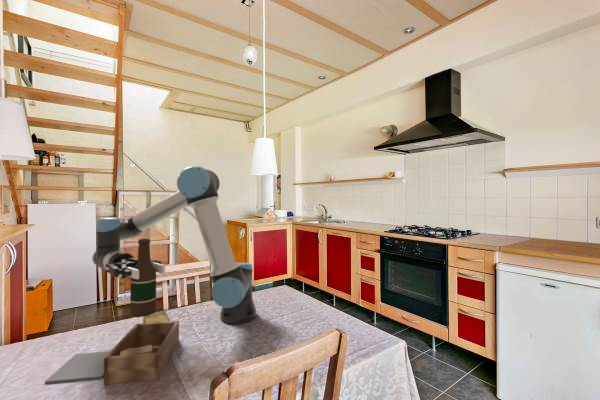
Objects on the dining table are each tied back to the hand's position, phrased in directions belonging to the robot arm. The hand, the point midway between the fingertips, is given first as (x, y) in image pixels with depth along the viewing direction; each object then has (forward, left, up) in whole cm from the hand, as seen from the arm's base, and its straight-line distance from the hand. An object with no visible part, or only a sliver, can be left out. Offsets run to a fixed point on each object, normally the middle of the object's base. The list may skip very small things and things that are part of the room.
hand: (151, 271), depth 90 cm
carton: (+5, -23, -28) cm, 36 cm away
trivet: (+17, +1, -27) cm, 32 cm away
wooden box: (+1, 0, -27) cm, 27 cm away
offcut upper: (+2, +7, -24) cm, 25 cm away
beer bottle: (+3, -3, -14) cm, 15 cm away
